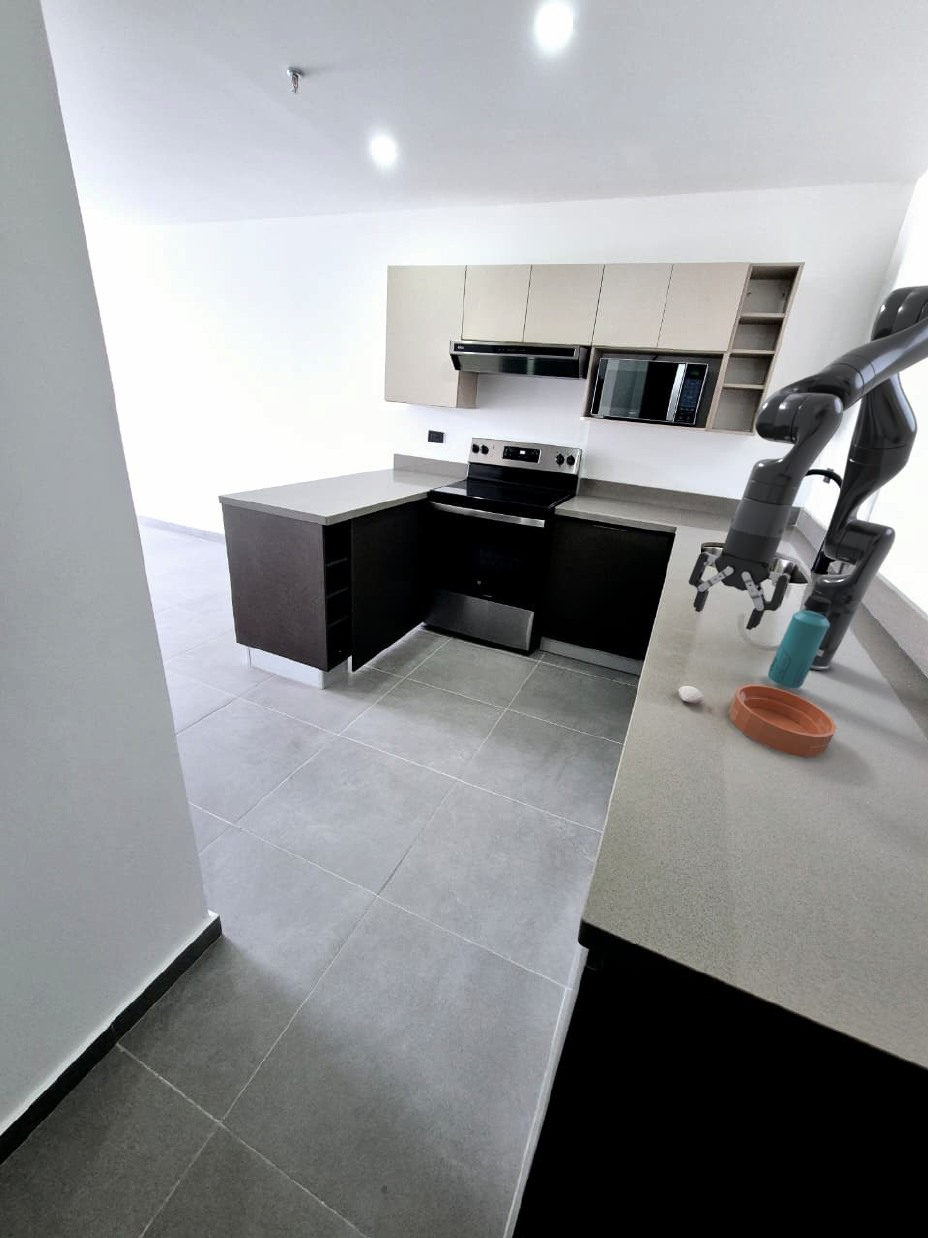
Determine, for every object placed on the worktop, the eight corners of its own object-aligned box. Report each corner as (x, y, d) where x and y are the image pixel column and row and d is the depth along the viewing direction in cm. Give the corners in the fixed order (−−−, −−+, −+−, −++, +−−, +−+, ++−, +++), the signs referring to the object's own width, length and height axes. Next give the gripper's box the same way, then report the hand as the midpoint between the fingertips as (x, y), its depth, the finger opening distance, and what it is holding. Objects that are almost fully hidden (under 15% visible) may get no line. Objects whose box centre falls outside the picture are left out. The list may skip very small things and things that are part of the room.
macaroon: (703, 702, 91) (707, 690, 90) (693, 711, 88) (698, 700, 87) (680, 691, 94) (684, 680, 93) (670, 700, 90) (674, 689, 89)
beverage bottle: (804, 698, 98) (848, 607, 89) (769, 691, 99) (810, 600, 90) (791, 681, 104) (831, 595, 95) (758, 675, 104) (795, 589, 96)
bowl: (741, 695, 96) (749, 675, 94) (830, 734, 87) (842, 713, 85) (716, 724, 85) (725, 703, 83) (815, 772, 76) (828, 749, 74)
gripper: (812, 537, 76) (773, 629, 83) (718, 515, 84) (690, 600, 91) (802, 543, 71) (761, 641, 78) (703, 520, 79) (674, 609, 86)
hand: (723, 619), depth 84 cm, fingers open, 8 cm apart
